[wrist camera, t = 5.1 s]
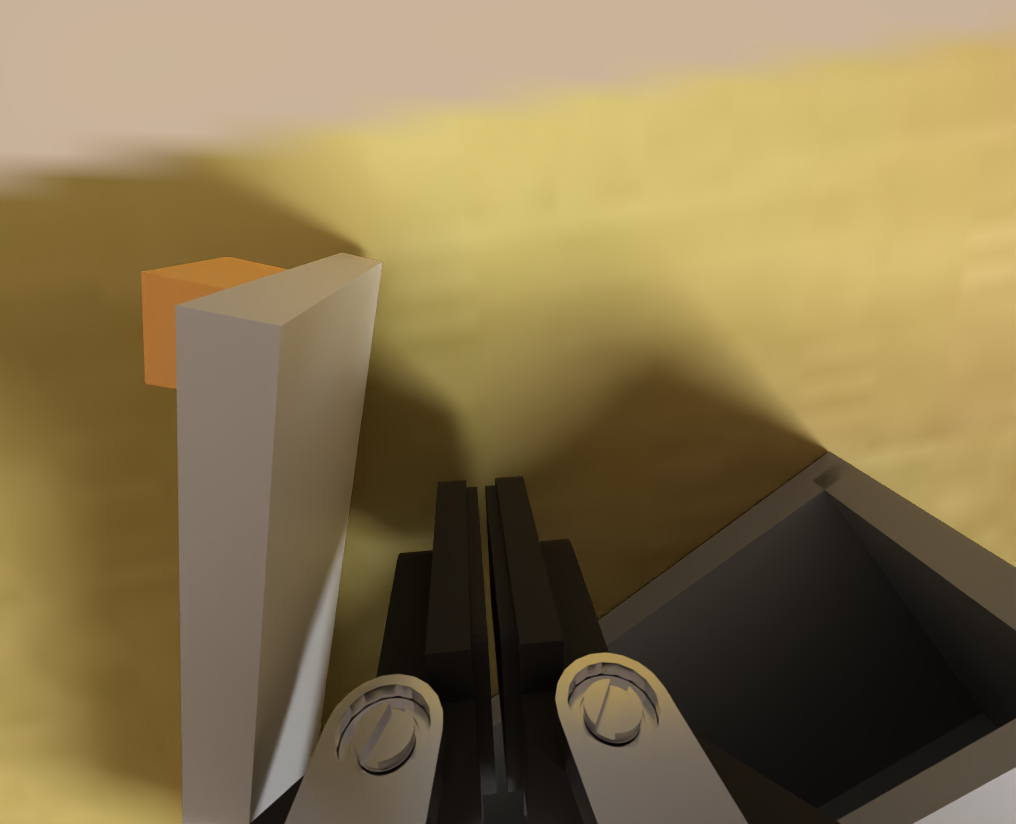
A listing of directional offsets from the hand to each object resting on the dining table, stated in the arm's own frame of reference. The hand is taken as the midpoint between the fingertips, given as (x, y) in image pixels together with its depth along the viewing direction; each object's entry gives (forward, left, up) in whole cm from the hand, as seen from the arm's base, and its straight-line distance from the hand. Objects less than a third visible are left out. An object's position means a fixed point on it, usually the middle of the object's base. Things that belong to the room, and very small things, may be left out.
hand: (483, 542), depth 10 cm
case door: (+11, +4, -1) cm, 12 cm away
